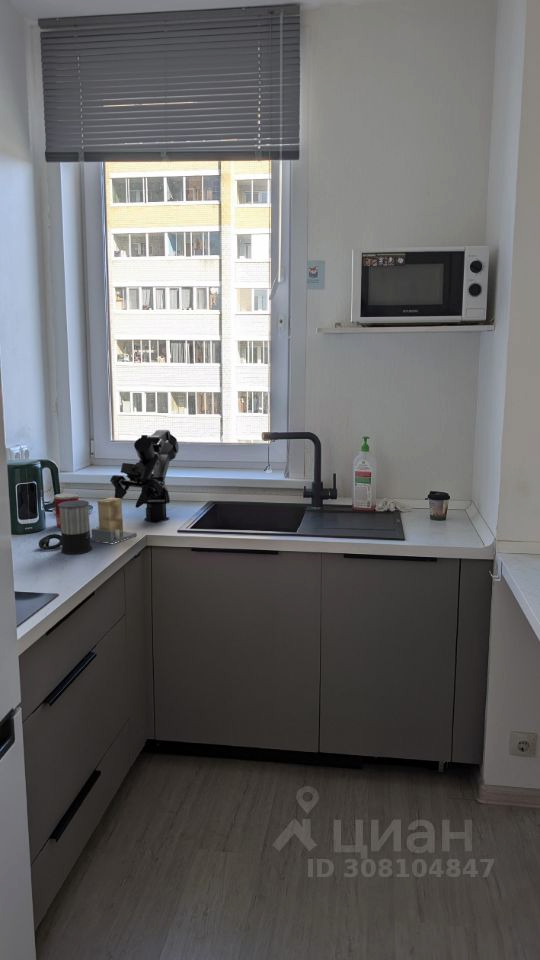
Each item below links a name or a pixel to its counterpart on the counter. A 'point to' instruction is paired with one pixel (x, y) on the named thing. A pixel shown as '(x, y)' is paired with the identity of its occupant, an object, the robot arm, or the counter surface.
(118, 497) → the robot arm
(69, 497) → the canned food
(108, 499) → the oak block
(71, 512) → the milk frother
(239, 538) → the counter surface
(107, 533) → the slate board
